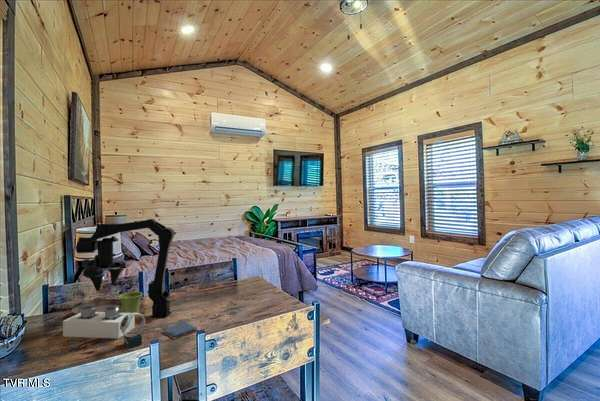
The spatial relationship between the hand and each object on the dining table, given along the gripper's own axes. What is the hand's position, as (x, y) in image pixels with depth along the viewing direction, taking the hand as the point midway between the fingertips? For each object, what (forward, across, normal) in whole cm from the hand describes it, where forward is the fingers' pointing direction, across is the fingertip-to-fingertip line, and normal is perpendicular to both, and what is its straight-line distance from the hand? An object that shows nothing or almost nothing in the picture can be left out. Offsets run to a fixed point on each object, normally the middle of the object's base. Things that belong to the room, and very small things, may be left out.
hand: (105, 287), depth 134 cm
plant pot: (+14, -8, +6) cm, 17 cm away
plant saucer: (+14, -8, -10) cm, 19 cm away
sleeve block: (+14, +12, +7) cm, 20 cm away
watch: (+14, +21, +26) cm, 36 cm away
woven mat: (+15, +8, +38) cm, 42 cm away
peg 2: (+10, +12, +12) cm, 20 cm away
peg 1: (+10, +13, +2) cm, 16 cm away
